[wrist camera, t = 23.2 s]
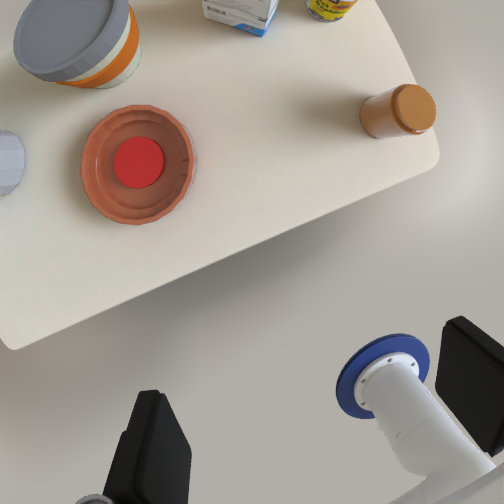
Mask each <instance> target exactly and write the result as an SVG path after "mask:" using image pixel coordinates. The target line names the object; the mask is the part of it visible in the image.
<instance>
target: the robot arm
mask: <svg viewBox="0 0 504 504" xmlns="http://www.w3.org/2000/svg"><path fill="white" fill-rule="evenodd" d="M418 375H419V367H418V364H417V362H416V360H415V359H414V358H413V357H412V356H411V355H409V354H407V353H404V352H393V353H389V354H386V355H383V356H381V357H379V358H378V359H376V360H374V361H373V362H372V363H370V364H369V365H368V366H367V367H366V368H365V369H364V370H363V371H362V372H361V374H360V375H359V377H358V379H357V380H356V383H355V386H354V398H355V400H356V402H357V404H358V405H359V406H360V407H361V408H363V409H365V410H369V411H372V412H373V414H374V416H375V418H376V420H377V421H378V429H379V430H382V431H383V433H384V434H385V436H386V438H387V440H388V442H389V444H390V445H391V447H392V449H393V451H394V453H395V455H396V457H397V459H398V461H399V462H400V464H401V465H402V466H403V468H405V469H406V470H408V471H409V472H411V473H414V474H417V475H422V476H427V478H426V479H425V480H424V481H422V482H421V483H420V484H419V485H417V486H416V487H414V488H413V489H411V490H410V491H408V492H406V493H405V494H403V495H402V496H400V497H398V498H397V499H395V500H393V501H392V502H390V503H388V504H504V463H502V464H501V465H499V466H498V467H496V466H495V464H494V463H493V462H492V461H491V460H490V459H488V458H487V457H486V456H485V455H484V454H483V453H481V452H480V451H479V450H478V449H477V448H476V447H475V446H474V445H473V444H472V443H471V442H470V441H469V440H468V439H467V438H466V437H465V436H464V434H463V433H462V432H461V431H460V429H459V428H458V427H457V426H456V425H455V423H454V422H453V421H452V420H451V418H450V417H449V416H448V414H447V413H446V412H445V411H444V409H443V408H442V407H441V405H440V404H439V403H438V402H437V400H436V399H435V398H434V397H433V395H432V394H431V393H430V392H429V390H428V389H427V388H426V387H425V386H424V384H423V383H422V382H421V381H420V379H419V378H418ZM435 389H436V392H437V394H438V395H439V397H440V398H441V399H442V400H443V402H444V403H445V404H446V405H447V406H448V408H449V409H450V410H451V411H452V413H453V414H454V415H455V416H456V418H457V419H458V420H459V421H460V423H461V424H462V425H463V426H464V428H465V429H466V430H467V431H468V433H469V434H470V435H471V437H472V438H473V439H474V441H475V442H476V443H477V444H478V446H479V447H480V448H481V450H482V451H483V452H488V454H489V455H490V456H491V457H493V456H495V455H497V454H498V453H500V452H501V451H502V450H503V449H504V347H503V346H502V345H500V344H499V343H498V342H497V341H495V340H494V339H492V338H491V337H490V336H489V335H488V334H486V333H485V332H484V331H482V330H481V329H480V328H478V327H477V326H476V325H474V324H473V323H472V322H470V321H469V320H468V319H466V318H465V317H463V316H458V317H456V318H453V319H451V320H448V321H447V322H446V325H445V326H444V327H443V330H442V339H441V348H440V357H439V363H438V370H437V376H436V382H435ZM191 458H192V453H191V448H190V446H189V443H188V441H187V439H186V438H185V435H184V433H183V431H182V429H181V427H180V425H179V423H178V421H177V419H176V417H175V415H174V413H173V410H172V408H171V406H170V404H169V402H168V400H167V397H166V396H165V394H163V393H161V394H160V392H159V391H158V390H147V391H140V392H139V394H138V397H137V400H136V402H135V405H134V409H133V412H132V415H131V418H130V420H129V423H128V427H127V430H126V431H124V432H122V434H121V437H120V440H119V443H118V446H117V449H116V452H115V455H114V458H113V461H112V465H111V468H110V471H109V474H108V478H107V481H106V484H105V487H104V491H103V494H102V495H99V494H92V495H88V496H85V497H83V498H81V499H80V500H78V501H77V502H76V504H188V492H189V481H190V469H191Z"/></svg>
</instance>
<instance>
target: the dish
mask: <svg viewBox="0 0 504 504" xmlns="http://www.w3.org/2000/svg"><path fill="white" fill-rule="evenodd" d="M137 136H138V137H147V138H149V139H153V140H154V141H155V142H156V143H158V144H159V146H160V147H161V148H162V150H163V151H164V152H163V153H164V156H165V159H166V160H165V166H164V167H165V168H164V170H163V172H162V175H161V176H160V177H159V179H158V180H157V182H154V183H153V184H151V185H150V186H147V187H143V188H141V189H140V188H131V187H128V186H126V185H125V184H123V183H122V182H121V181H120V180H119V179H118V177H117V175H116V173H115V170H114V158H115V154H116V152H117V150H118V148H119V147H120V146H121V145H122V144H123V143H124V142H125V141H126V140H128V139H130V138H133V137H137ZM196 166H197V156H196V151H195V146H194V142H193V140H192V138H191V137H190V135H189V133H188V131H187V130H186V128H185V127H184V126H183V125H182V124H181V123H180V122H179V121H178V120H176V119H175V118H174V117H173V116H172V115H170V114H169V113H168V112H167V111H164V110H161V109H159V108H156V107H153V106H151V105H130V106H127V107H124V108H121V109H118V110H115V111H113V112H112V113H110V114H109V115H108V116H106V117H105V118H103V119H102V120H101V121H100V122H99V123H98V124H97V125H96V127H95V128H94V129H93V130H92V132H91V133H90V134H89V136H88V138H87V140H86V143H85V145H84V148H83V151H82V154H81V165H80V174H81V179H82V184H83V188H84V191H85V192H86V194H87V196H88V198H89V200H90V201H91V203H92V205H93V206H94V207H95V208H96V209H97V210H99V211H100V212H101V213H102V214H103V215H104V216H105V217H107V218H110V219H112V220H114V221H116V222H118V223H121V224H131V225H141V224H145V223H149V222H154V221H157V220H158V219H160V218H161V217H163V216H165V215H166V214H168V213H170V212H171V211H173V210H174V209H175V208H176V207H177V206H178V205H179V204H180V203H181V202H182V200H183V199H184V198H185V197H186V196H187V195H188V193H189V191H190V188H191V186H192V184H193V181H194V179H195V175H196Z"/></svg>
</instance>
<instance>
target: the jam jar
mask: <svg viewBox="0 0 504 504" xmlns="http://www.w3.org/2000/svg"><path fill="white" fill-rule="evenodd" d="M435 118H436V107H435V103H434V101H433V99H432V97H431V96H430V94H429V93H428V92H427V91H426V90H425V89H423V88H422V87H420V86H417V85H411V84H403V85H400V86H398V87H395V88H393V89H390V90H388V91H385V92H383V93H381V94H378V95H376V96H373V97H371V98H369V99H367V100H366V101H365V102H364V103H363V105H362V107H361V110H360V120H361V123H362V125H363V127H364V129H365V130H366V131H367V132H368V133H369V134H370V135H371V136H373V137H375V138H378V139H386V138H394V137H402V136H411V135H419V134H422V133H424V132H426V131H427V130H428V129H429V128H430V127H431V126H432V125H433V123H434V122H435Z"/></svg>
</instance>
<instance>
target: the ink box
mask: <svg viewBox="0 0 504 504" xmlns="http://www.w3.org/2000/svg"><path fill="white" fill-rule="evenodd" d="M278 1H279V0H201V2H202V7H203V12H204V17H205V18H208V19H211V20H214V21H218V22H221V23H224V24H227V25H230V26H233V27H236V28H239V29H242V30H245V31H248V32H250V33H253V34H256V35H258V36H261V37H263V36H264V34H265V32H266V30H267V28H268V26H269V24H270V22H271V20H272V18H273V16H274V14H275V11H276V8H277V5H278Z"/></svg>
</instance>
